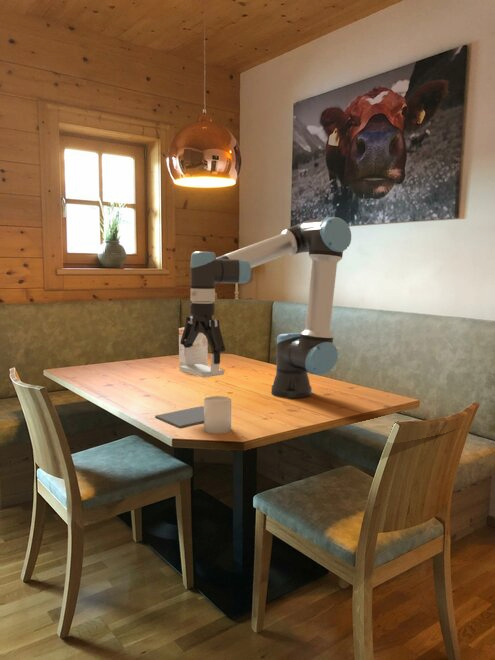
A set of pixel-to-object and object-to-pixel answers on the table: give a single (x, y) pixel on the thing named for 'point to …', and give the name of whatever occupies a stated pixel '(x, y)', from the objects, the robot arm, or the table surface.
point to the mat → (184, 417)
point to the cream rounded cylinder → (217, 414)
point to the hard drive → (199, 370)
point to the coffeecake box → (199, 349)
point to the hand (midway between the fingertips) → (201, 370)
